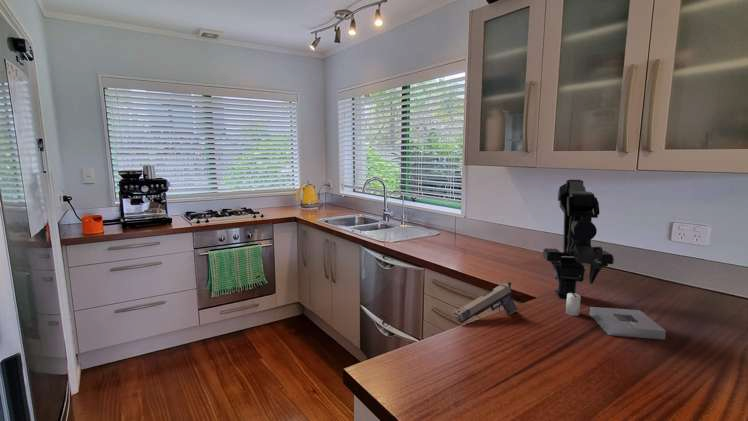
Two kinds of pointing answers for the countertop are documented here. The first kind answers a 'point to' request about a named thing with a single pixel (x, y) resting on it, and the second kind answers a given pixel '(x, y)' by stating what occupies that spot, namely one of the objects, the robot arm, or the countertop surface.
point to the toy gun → (488, 303)
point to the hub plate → (627, 323)
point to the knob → (573, 304)
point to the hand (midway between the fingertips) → (574, 282)
